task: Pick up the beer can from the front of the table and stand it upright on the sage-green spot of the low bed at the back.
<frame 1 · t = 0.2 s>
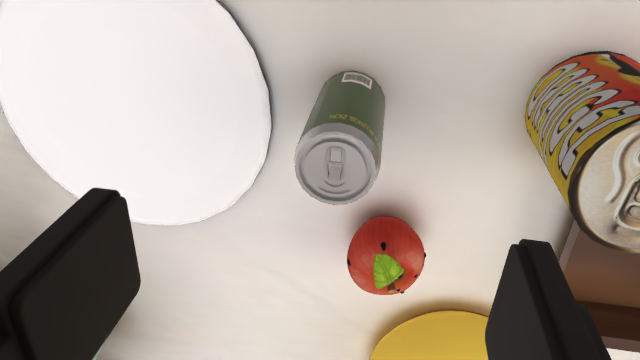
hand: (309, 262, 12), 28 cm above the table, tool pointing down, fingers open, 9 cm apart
plate: (136, 101, 43), on the table
apple: (385, 225, 45), on the table
beer can: (352, 99, 40), on the table
beverage can: (586, 108, 37), on the table
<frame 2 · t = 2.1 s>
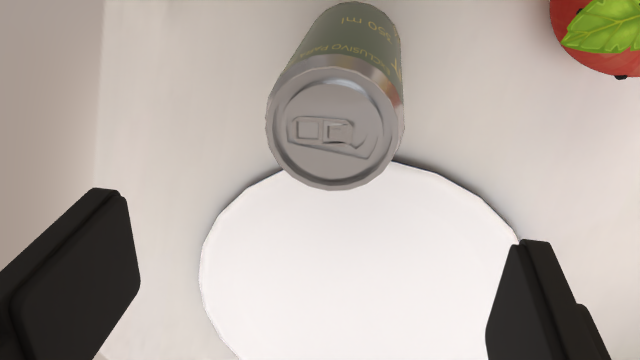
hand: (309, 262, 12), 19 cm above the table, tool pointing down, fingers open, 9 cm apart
plate: (359, 294, 38), on the table
beer can: (353, 47, 28), on the table
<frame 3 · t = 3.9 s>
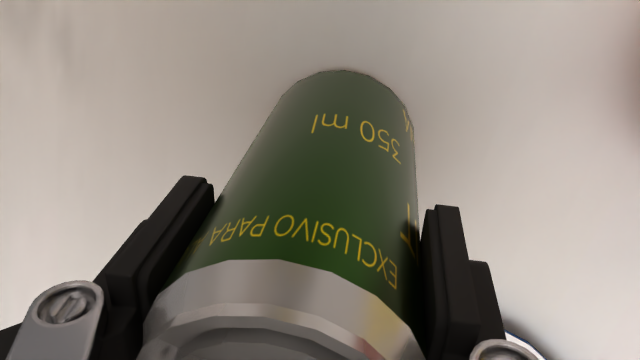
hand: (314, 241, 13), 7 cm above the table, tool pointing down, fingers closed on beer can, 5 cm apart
beer can: (342, 131, 19), on the table, touching gripper
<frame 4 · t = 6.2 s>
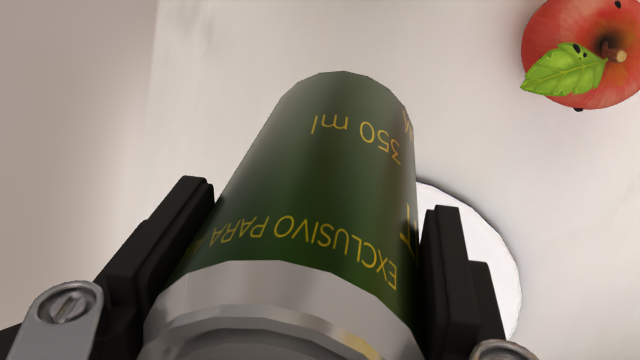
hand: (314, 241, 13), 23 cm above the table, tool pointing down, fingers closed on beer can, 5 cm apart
plate: (367, 292, 43), on the table
apple: (559, 33, 30), on the table
beer can: (342, 132, 19), point 15 cm above the table, touching gripper
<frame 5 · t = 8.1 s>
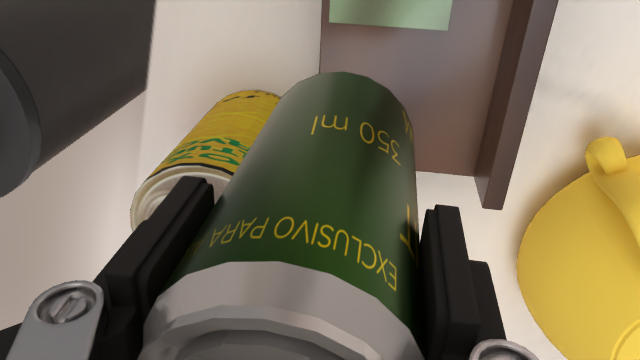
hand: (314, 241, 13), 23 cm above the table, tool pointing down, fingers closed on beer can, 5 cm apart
teapot: (635, 250, 38), on the table
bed: (420, 8, 31), on the table
beer can: (342, 132, 19), point 16 cm above the table, touching gripper
beverage can: (259, 144, 38), on the table
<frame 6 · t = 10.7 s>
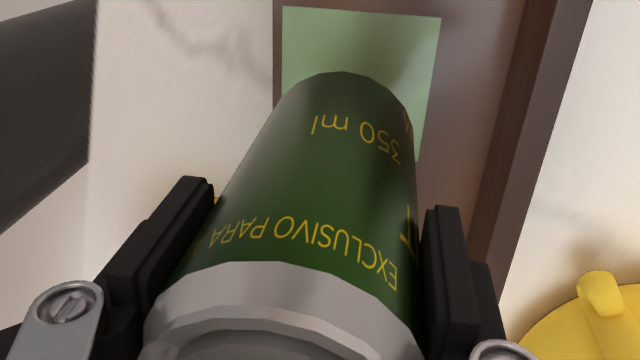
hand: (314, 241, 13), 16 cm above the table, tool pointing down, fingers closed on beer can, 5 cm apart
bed: (390, 121, 27), on the table
beer can: (342, 132, 19), point 9 cm above the table, touching gripper
when the fingers open (11 cm above the table, at t = 12.6 s): beer can stays where it is, resting on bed.
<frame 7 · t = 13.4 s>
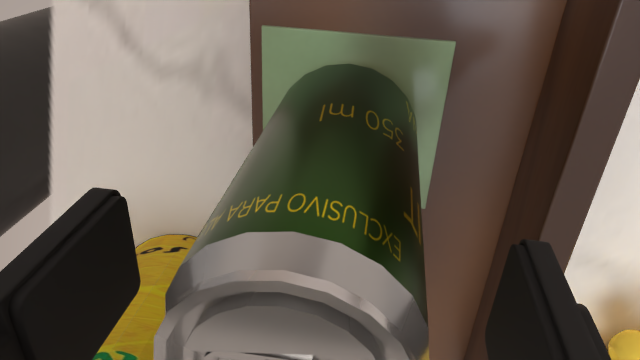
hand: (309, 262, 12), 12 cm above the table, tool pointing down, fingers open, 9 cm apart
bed: (392, 155, 24), on the table
beer can: (347, 123, 19), point 4 cm above the table, touching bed
beverage can: (194, 291, 30), on the table
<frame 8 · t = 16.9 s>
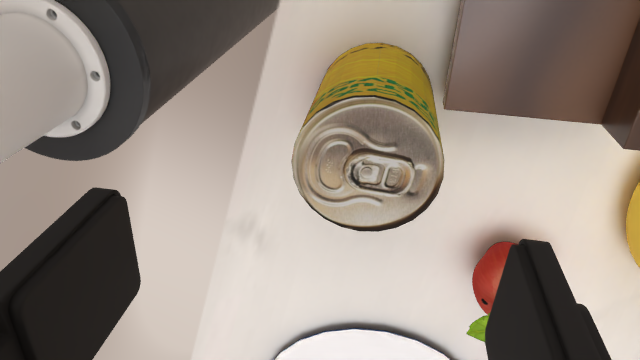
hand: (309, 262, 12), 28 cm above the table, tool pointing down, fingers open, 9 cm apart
apple: (500, 255, 45), on the table
beverage can: (375, 98, 39), on the table
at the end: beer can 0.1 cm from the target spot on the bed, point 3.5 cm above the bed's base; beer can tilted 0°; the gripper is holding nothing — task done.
